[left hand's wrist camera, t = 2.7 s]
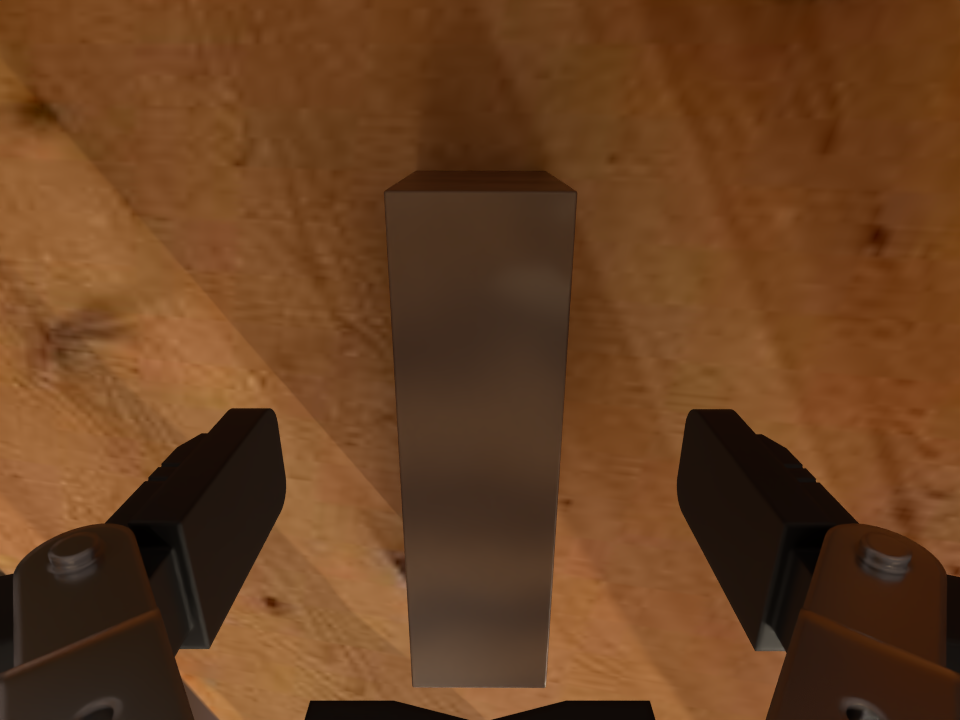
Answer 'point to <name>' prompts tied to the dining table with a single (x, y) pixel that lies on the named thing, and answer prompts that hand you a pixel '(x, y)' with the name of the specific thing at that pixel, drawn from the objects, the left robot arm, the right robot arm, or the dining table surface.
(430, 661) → the box
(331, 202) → the dining table surface
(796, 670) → the left robot arm
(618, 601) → the dining table surface
